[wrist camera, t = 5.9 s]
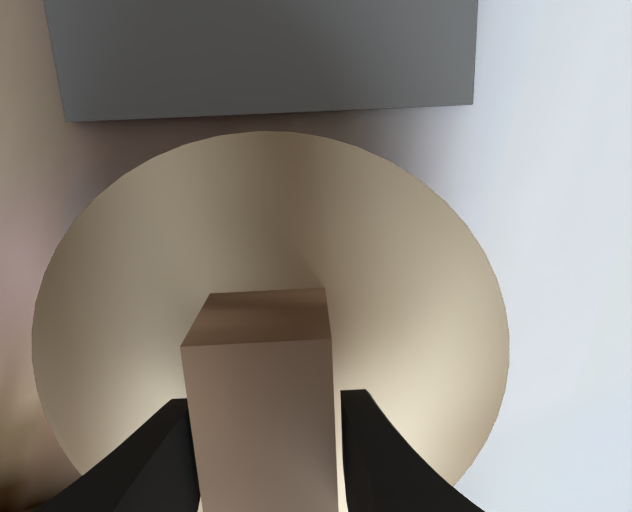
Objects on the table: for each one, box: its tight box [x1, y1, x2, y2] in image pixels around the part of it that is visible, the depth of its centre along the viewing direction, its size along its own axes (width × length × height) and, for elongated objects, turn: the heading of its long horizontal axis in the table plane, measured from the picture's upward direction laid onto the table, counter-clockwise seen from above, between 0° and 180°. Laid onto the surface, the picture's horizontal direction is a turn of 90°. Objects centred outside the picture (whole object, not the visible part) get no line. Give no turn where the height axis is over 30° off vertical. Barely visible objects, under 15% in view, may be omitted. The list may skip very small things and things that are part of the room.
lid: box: [32, 131, 509, 512], centre depth 12 cm, size 13×13×4 cm
